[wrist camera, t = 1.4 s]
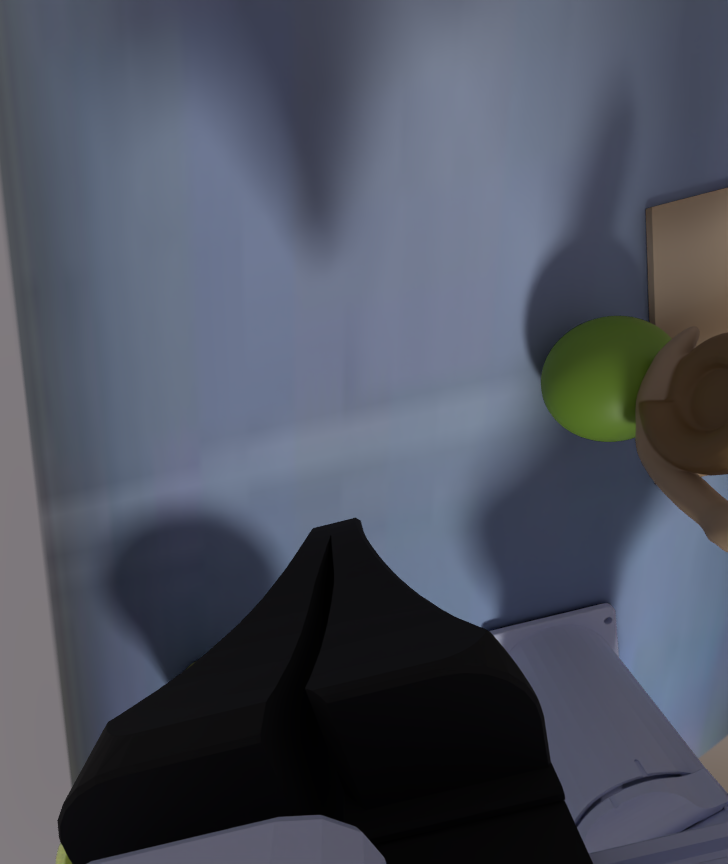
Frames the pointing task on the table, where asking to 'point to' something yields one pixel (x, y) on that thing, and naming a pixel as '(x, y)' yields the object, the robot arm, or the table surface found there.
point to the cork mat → (689, 265)
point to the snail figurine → (649, 404)
